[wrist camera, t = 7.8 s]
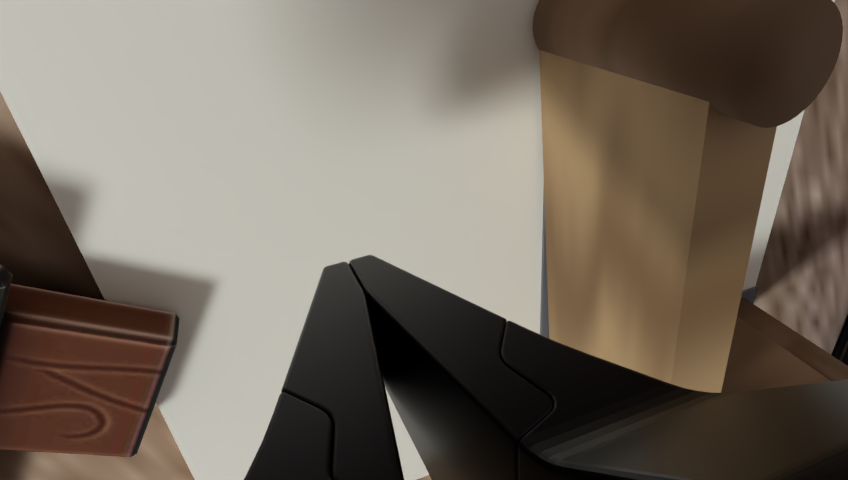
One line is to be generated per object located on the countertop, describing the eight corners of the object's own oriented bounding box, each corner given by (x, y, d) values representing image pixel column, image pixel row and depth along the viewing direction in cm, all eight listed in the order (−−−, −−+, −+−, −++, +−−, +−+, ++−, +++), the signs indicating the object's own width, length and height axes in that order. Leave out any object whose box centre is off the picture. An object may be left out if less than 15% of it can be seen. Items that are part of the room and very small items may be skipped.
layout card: (863, -159, 13) (884, -162, 13) (727, 351, 22) (737, 359, 21) (-73, -79, 8) (-89, -80, 8) (230, 538, 17) (230, 553, 17)
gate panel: (593, 334, 17) (731, 472, 13) (545, 353, 17) (670, 502, 12) (602, -31, 12) (857, -18, 7) (530, -16, 11) (750, 10, 7)
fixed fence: (753, 284, 20) (906, 378, 15) (740, 334, 21) (877, 434, 17) (536, 359, 17) (643, 493, 13) (535, 409, 19) (633, 548, 14)
